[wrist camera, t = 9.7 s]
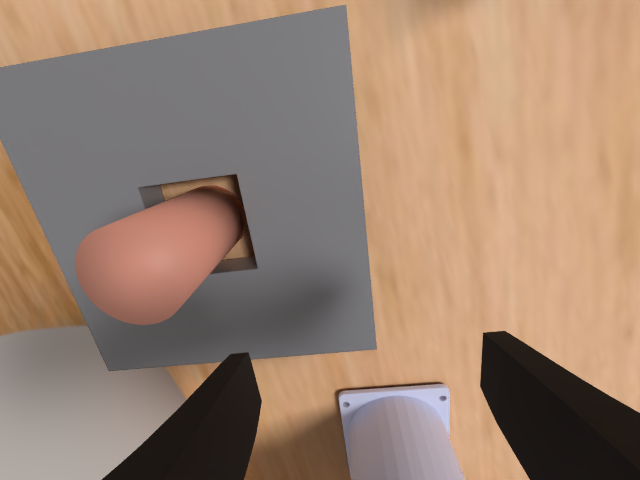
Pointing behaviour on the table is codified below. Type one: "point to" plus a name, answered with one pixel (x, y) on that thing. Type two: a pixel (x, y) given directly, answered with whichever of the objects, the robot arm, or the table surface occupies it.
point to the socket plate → (204, 162)
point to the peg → (159, 254)
